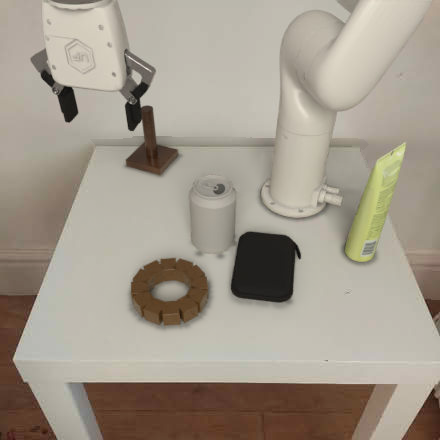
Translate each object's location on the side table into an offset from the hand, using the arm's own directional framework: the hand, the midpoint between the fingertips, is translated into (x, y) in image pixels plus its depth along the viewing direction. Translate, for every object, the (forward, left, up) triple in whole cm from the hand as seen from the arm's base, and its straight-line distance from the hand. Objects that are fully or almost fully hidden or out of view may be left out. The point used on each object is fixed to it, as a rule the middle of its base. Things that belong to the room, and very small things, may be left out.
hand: (103, 122), depth 66 cm
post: (+6, -21, -20) cm, 30 cm away
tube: (-40, -11, -20) cm, 46 cm away
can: (-16, -3, -20) cm, 26 cm away
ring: (-15, +11, -20) cm, 27 cm away
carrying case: (-27, 0, -20) cm, 34 cm away
